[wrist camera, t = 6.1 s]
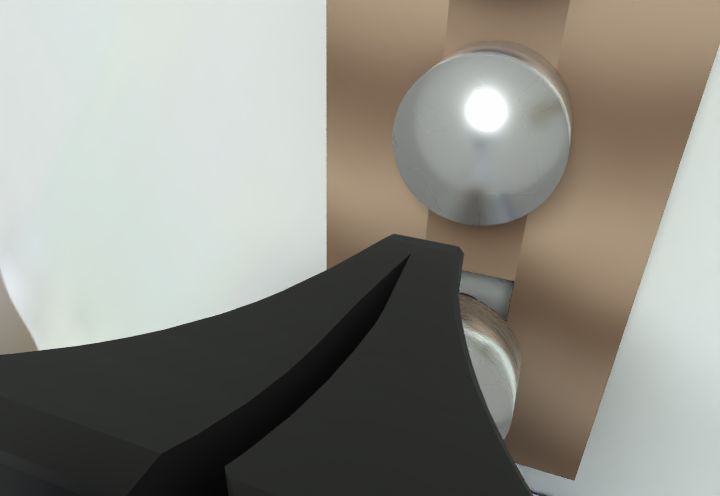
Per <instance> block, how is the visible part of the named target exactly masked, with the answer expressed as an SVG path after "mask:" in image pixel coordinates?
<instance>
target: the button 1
mask: <svg viewBox="0 0 720 496" xmlns="http://www.w3.org/2000/svg"><path fill="white" fill-rule="evenodd" d="M458 294H459V303H460V312H461V318H462V324H463V329H464V334H465V338H466V343H467V347H468V351H469V355H470V358H471V362H472V365H473V368H474V371H475V374H476V377H477V380H478V383H479V386H480V388H481V391H482V394H483V396H484V399H485V401H486V404H487V406H488V409H489V411H490V413H491V415H492V417H493V420H494V422H495V424H496V426H497V428H498V430H499V432H500V434H501V436H502V438H503V440H504V439H505V437H506V435H507V433H508V432H509V429H510V426H511V421H512V416H513V410H514V404H515V398H516V393H517V387H518V381H519V375H520V369H521V352H520V347H519V344H518V342H517V339H516V337H515V335H514V333H513V332H512V330H511V329H510V327H509V326H508V324H507V323H506V322H505V321H504V320H503V319H502V318H501V317H500V316H499V315H498V314H497V313H496V312H495V311H493V310H492V309H491V308H489V307H488V306H486V305H485V304H483V303H481V302H479V301H478V300H477V299H475V298H474V297H472V296H470V295H468V294H465V293H458Z"/></svg>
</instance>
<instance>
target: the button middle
mask: <svg viewBox="0 0 720 496" xmlns="http://www.w3.org/2000/svg"><path fill="white" fill-rule="evenodd" d="M572 124H573V109H572V102H571V98H570V94H569V91H568V89H567V86H566V84H565V82H564V80H563V78H562V77H561V75H560V74H559V72H558V71H557V70H556V69H555V67H554V66H553V65H552V64H551V63H550V62H549V61H548V60H547V59H546V58H544V57H543V56H542V55H540V54H539V53H537V52H536V51H534V50H532V49H530V48H528V47H526V46H524V45H521V44H517V43H514V42H509V41H503V40H487V41H479V42H475V43H471V44H468V45H466V46H463V47H461V48H458V49H457V50H455V51H453V52H451V53H450V54H448V55H447V56H446V57H444V58H443V59H442V60H440V61H439V62H438V63H437V64H436V65H434V66H433V67H432V68H431V69H430V70H428V71H427V72H426V73H425V74H424V75H423V76H421V77H420V78H419V79H418V80H417V81H416V82H415V83H414V84H413V85H412V87H411V88H410V89H409V91H408V92H407V93H406V95H405V96H404V98H403V100H402V102H401V103H400V106H399V108H398V111H397V113H396V117H395V121H394V125H393V133H392V146H393V153H394V158H395V162H396V166H397V168H398V171H399V173H400V175H401V177H402V179H403V181H404V183H405V184H406V186H407V187H408V189H409V190H410V191H411V193H412V194H413V195H414V196H415V197H416V198H417V199H418V200H419V201H420V202H421V203H422V204H423V205H425V206H426V207H427V208H428V209H430V210H431V211H433V212H434V213H436V214H438V215H440V216H442V217H444V218H446V219H449V220H452V221H454V222H458V223H462V224H466V225H474V226H490V225H498V224H502V223H507V222H510V221H513V220H516V219H518V218H520V217H522V216H524V215H526V214H528V213H530V212H531V211H533V210H534V209H536V208H537V207H538V206H539V205H540V204H542V203H543V202H544V201H545V200H546V199H547V198H548V197H549V195H550V194H551V193H552V192H553V191H554V189H555V188H556V186H557V185H558V183H559V181H560V179H561V177H562V175H563V173H564V170H565V167H566V164H567V161H568V155H569V148H570V140H571V132H572Z"/></svg>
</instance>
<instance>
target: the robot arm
mask: <svg viewBox="0 0 720 496" xmlns="http://www.w3.org/2000/svg"><path fill="white" fill-rule="evenodd" d="M463 258H464V253H463V251H462V250H461V249H460V247H459V246H454V245H449V244H444V243H439V242H434V241H429V240H424V239H419V238H414V237H409V236H404V235H399V234H392V235H390V236H388V237H386V238H384V239H382V240H380V241H378V242H377V243H375V244H373V245H371V246H369V247H368V248H366V249H364V250H362V251H361V252H359V253H357V254H355V255H353V256H352V257H350V258H348V259H346V260H344V261H342V262H341V263H339V264H337V265H335V266H333V267H331V268H329V269H328V270H326V271H324V272H322V273H320V274H318V275H315V276H313V277H311V278H309V279H307V280H305V281H303V282H301V283H299V284H296V285H294V286H292V287H290V288H288V289H286V290H284V291H282V292H279V293H277V294H274V295H272V296H270V297H267V298H265V299H262V300H260V301H257V302H254V303H251V304H249V305H246V306H243V307H240V308H237V309H235V310H232V311H229V312H226V313H223V314H220V315H216V316H212V317H209V318H205V319H201V320H198V321H194V322H191V323H187V324H183V325H180V326H176V327H172V328H169V329H165V330H161V331H156V332H151V333H147V334H142V335H137V336H133V337H128V338H122V339H117V340H111V341H105V342H100V343H94V344H87V345H81V346H74V347H66V348H58V349H49V350H41V351H33V352H24V353H16V354H7V355H0V496H538V495H535V494H532V492H531V491H530V489H529V487H528V485H527V484H526V482H525V480H524V478H523V477H522V475H521V473H520V471H519V469H518V468H517V466H516V464H515V462H514V461H513V459H512V457H511V455H510V453H509V451H508V449H507V447H506V445H505V443H504V440H503V438H502V436H501V434H500V432H499V430H498V428H497V426H496V424H495V422H494V420H493V417H492V415H491V413H490V411H489V409H488V406H487V404H486V401H485V399H484V396H483V394H482V391H481V388H480V386H479V383H478V380H477V377H476V374H475V371H474V368H473V365H472V362H471V358H470V355H469V351H468V347H467V343H466V338H465V334H464V329H463V324H462V318H461V312H460V303H459V294H458V293H459V286H460V279H461V272H462V265H463Z"/></svg>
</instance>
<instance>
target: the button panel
mask: <svg viewBox="0 0 720 496" xmlns="http://www.w3.org/2000/svg"><path fill="white" fill-rule="evenodd" d="M487 40H503V41H509V42H514V43H517V44H521V45H524V46H526V47H528V48H530V49H532V50H534V51H536V52H537V53H539V54H540V55H542V56H543V57H544V58H546V59H547V60H548V61H549V62H550V63H551V64H552V65H553V66H554V67H555V69H556V70H557V71H558V72H559V74H560V75H561V77H562V78H563V80H564V82H565V84H566V86H567V89H568V91H569V94H570V98H571V102H572V109H573V124H572V132H571V140H570V148H569V155H568V161H567V164H566V167H565V170H564V173H563V175H562V177H561V179H560V181H559V183H558V185H557V186H556V188H555V189H554V191H553V192H552V193H551V194H550V195H549V197H548V198H547V199H546V200H545V201H544V202H543V203H542V204H540V205H539V206H538V207H537V208H536V209H534V210H533V211H531V212H530V213H528V214H526V215H524V216H522V217H520V218H518V219H516V220H513V221H510V222H507V223H502V224H498V225H490V226H474V225H466V224H462V223H458V222H454V221H452V220H449V219H446V218H444V217H442V216H440V215H438V214H436V213H434V212H433V211H431V210H430V209H428V208H427V207H426V206H425V205H423V204H422V203H421V202H420V201H419V200H418V199H417V198H416V197H415V196H414V195H413V194H412V193H411V191H410V190H409V189H408V187H407V186H406V184H405V183H404V181H403V179H402V177H401V175H400V173H399V171H398V168H397V166H396V162H395V158H394V153H393V146H392V133H393V125H394V121H395V117H396V113H397V111H398V108H399V106H400V103H401V102H402V100H403V98H404V96H405V95H406V93H407V92H408V91H409V89H410V88H411V87H412V85H413V84H414V83H415V82H416V81H417V80H418V79H419V78H420V77H421V76H423V75H424V74H425V73H426V72H427V71H428V70H430V69H431V68H432V67H433V66H434V65H436V64H437V63H438V62H439V61H440V60H442V59H443V58H444V57H446V56H447V55H448V54H450V53H451V52H453V51H455V50H457V49H458V48H461V47H463V46H466V45H468V44H471V43H475V42H479V41H487ZM719 44H720V0H327V270H328V269H329V268H331V267H333V266H335V265H337V264H339V263H341V262H342V261H344V260H346V259H348V258H350V257H352V256H353V255H355V254H357V253H359V252H361V251H362V250H364V249H366V248H368V247H369V246H371V245H373V244H375V243H377V242H378V241H380V240H382V239H384V238H386V237H388V236H390V235H392V234H399V235H404V236H409V237H414V238H419V239H424V240H429V241H434V242H439V243H444V244H449V245H454V246H459V247H460V249H461V250H462V251H463V253H464V258H463V265H462V270H463V271H468V272H472V273H477V274H482V275H487V276H492V277H496V278H501V279H506V280H511V281H514V286H513V291H512V296H511V301H510V306H509V311H508V316H507V321H506V320H504V321H505V322H506V323H507V324H508V326H509V327H510V329H511V330H512V332H513V333H514V335H515V337H516V339H517V342H518V344H519V347H520V352H521V369H520V375H519V381H518V387H517V393H516V398H515V404H514V410H513V416H512V421H511V426H510V429H509V432H508V433H507V435H506V437H505V439H504V443H505V445H506V447H507V449H508V451H509V453H510V455H511V457H512V459H513V461H514V462H515V463H517V464H521V465H524V466H527V467H531V468H534V469H537V470H541V471H544V472H547V473H551V474H554V475H557V476H561V477H564V478H567V479H571V480H575V477H576V474H577V471H578V468H579V465H580V462H581V459H582V456H583V453H584V450H585V447H586V444H587V441H588V438H589V435H590V432H591V429H592V426H593V423H594V420H595V417H596V414H597V411H598V408H599V405H600V402H601V399H602V396H603V393H604V390H605V387H606V384H607V381H608V378H609V375H610V372H611V369H612V366H613V363H614V360H615V357H616V354H617V351H618V348H619V345H620V342H621V339H622V336H623V332H624V329H625V326H626V323H627V320H628V317H629V314H630V311H631V308H632V305H633V302H634V299H635V296H636V293H637V290H638V287H639V284H640V281H641V278H642V275H643V272H644V269H645V266H646V263H647V260H648V257H649V254H650V251H651V248H652V245H653V242H654V239H655V236H656V233H657V230H658V227H659V224H660V221H661V218H662V215H663V212H664V209H665V206H666V203H667V200H668V197H669V194H670V191H671V188H672V185H673V182H674V179H675V176H676V173H677V170H678V167H679V164H680V161H681V158H682V155H683V152H684V149H685V146H686V143H687V140H688V137H689V134H690V131H691V128H692V125H693V122H694V119H695V116H696V113H697V110H698V107H699V104H700V101H701V98H702V95H703V92H704V89H705V86H706V83H707V80H708V77H709V74H710V71H711V68H712V65H713V62H714V59H715V56H716V53H717V50H718V47H719Z"/></svg>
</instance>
